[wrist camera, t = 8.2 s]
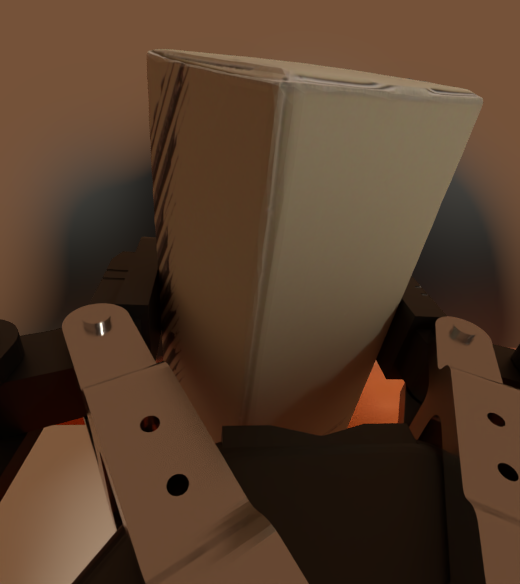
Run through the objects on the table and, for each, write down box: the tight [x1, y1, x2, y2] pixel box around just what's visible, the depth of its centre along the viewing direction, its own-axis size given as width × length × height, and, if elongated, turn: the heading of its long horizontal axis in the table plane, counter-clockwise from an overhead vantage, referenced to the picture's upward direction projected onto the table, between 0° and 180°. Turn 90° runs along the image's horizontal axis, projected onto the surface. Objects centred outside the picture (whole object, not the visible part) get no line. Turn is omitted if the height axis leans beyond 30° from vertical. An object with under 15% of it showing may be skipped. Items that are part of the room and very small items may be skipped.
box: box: [147, 49, 483, 443], centre depth 10 cm, size 5×4×13 cm
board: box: [0, 425, 116, 584], centre depth 20 cm, size 12×12×1 cm
